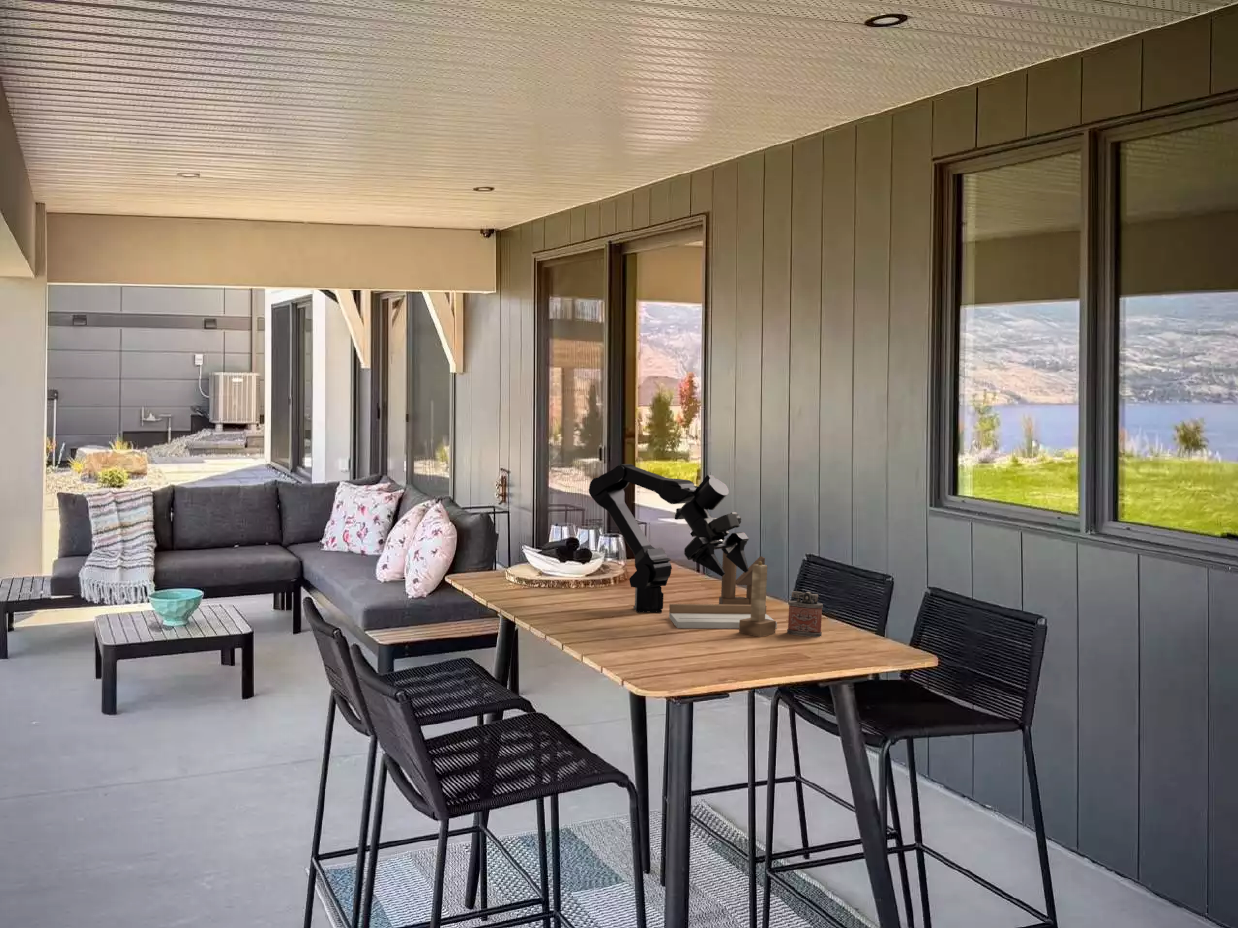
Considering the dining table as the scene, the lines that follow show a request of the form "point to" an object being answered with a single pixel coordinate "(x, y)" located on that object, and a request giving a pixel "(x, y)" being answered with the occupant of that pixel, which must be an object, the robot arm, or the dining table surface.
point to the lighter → (805, 615)
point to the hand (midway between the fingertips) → (735, 573)
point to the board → (709, 615)
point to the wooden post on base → (758, 606)
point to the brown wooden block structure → (736, 582)
